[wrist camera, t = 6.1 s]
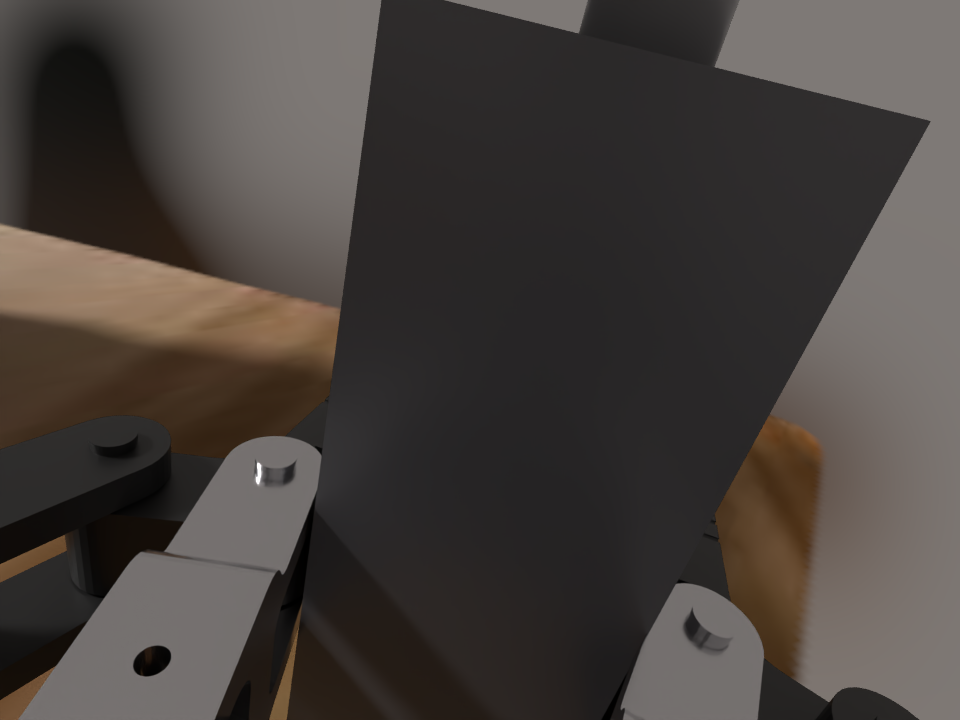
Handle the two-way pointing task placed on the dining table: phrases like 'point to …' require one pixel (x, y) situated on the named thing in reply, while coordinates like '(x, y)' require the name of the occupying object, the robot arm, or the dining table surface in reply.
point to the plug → (559, 344)
